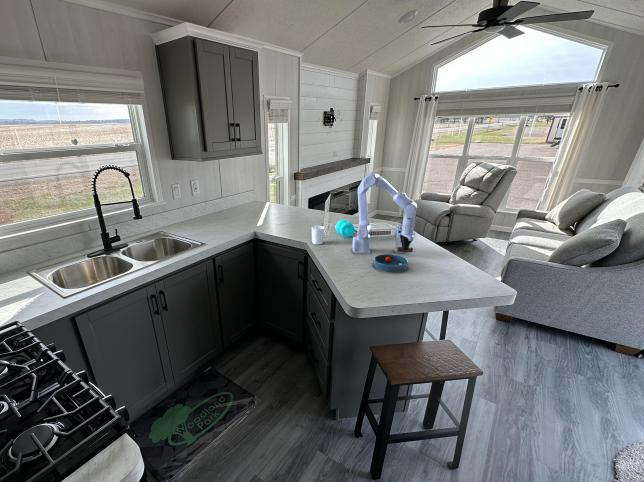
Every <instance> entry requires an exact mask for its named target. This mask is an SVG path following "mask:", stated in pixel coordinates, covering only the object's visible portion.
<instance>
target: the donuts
mask: <svg viewBox="0 0 644 482" xmlns="http://www.w3.org/2000/svg"><path fill="white" fill-rule="evenodd" d="M335 231H336V233H337V234H339V235H341V237H343V238H350V237H352V236H353V235H354V233H355V231H356V230H355V225H354V224H353V223H352V222H350V221H349V220H347V219H340V220H338V221H337V223H336V224H335Z"/></svg>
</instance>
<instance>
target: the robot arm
mask: <svg viewBox="0 0 644 482" xmlns="http://www.w3.org/2000/svg"><path fill="white" fill-rule="evenodd" d="M372 187H375V188H382V189H383V190H384V191H385V192H386V193H388V194H389V195H390V196H391V197H392V201H393V202H395V204H397V205H398V206H399V207H400V208H401V209H403V212H404V214H403V219H402V220H403V221H402V224H403V226H402V231H401V235H400V238H401V242H402V247H403V250H408V248H409V247H411V246H410V245H411V243H412V242H413V241H414V236H416V232H414V230H415V223H416V216H417V214H416V213H417V211H418V210H417V209H418V205H417V203H416V201H413V200H412V199H411V198H409V197H408V196H407V193H406V192H403V191H397V189H395V187H393V186H392V185H391V184H390V183H389V181H387V180H386V179H385V178H384V177H383V176H382V175H380V174H378V172H375V171H372V172H370V173H368V174H366V175H365V177H363V178H362V180H361V182H360V184H359V186H358V187H357V205H358V228H357V231H356V234H357V235H356V236H353V237H352V247H351V250H352V252H353V254H372V253H371V250H370V246H371V234H370V233H371V231H372V226H371V224H370V219H369V204H368V202H369V201H368V191H369V189H371V188H372Z"/></svg>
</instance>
